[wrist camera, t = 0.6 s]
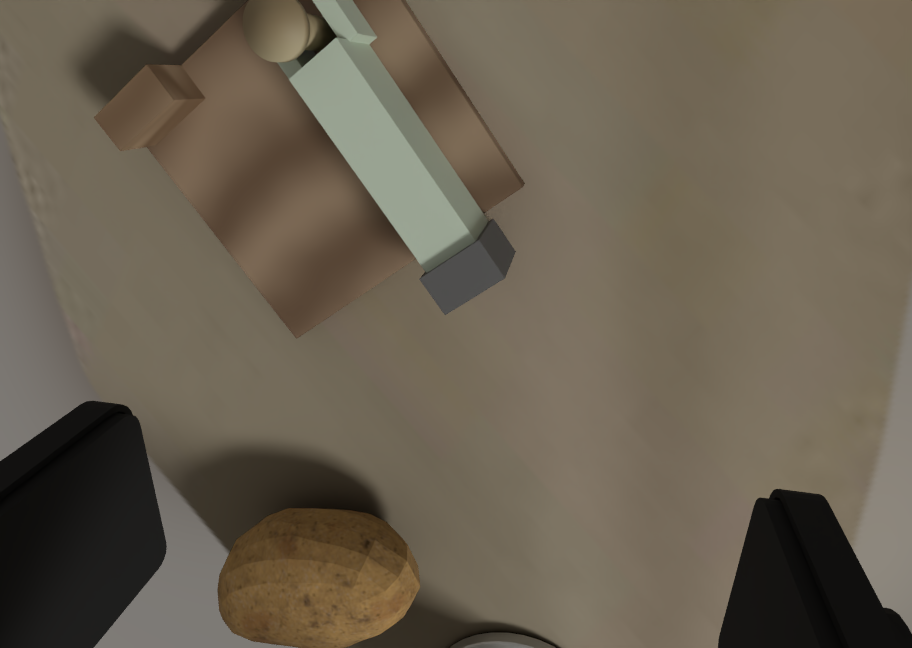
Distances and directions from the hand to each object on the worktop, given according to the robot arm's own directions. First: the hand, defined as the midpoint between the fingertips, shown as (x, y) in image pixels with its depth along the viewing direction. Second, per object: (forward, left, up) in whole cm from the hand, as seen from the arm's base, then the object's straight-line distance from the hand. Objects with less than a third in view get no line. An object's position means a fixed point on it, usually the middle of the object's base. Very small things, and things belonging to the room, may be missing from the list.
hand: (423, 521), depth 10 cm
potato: (-13, +25, -28) cm, 40 cm away
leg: (+6, +4, -26) cm, 27 cm away
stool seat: (+9, +9, -28) cm, 30 cm away
